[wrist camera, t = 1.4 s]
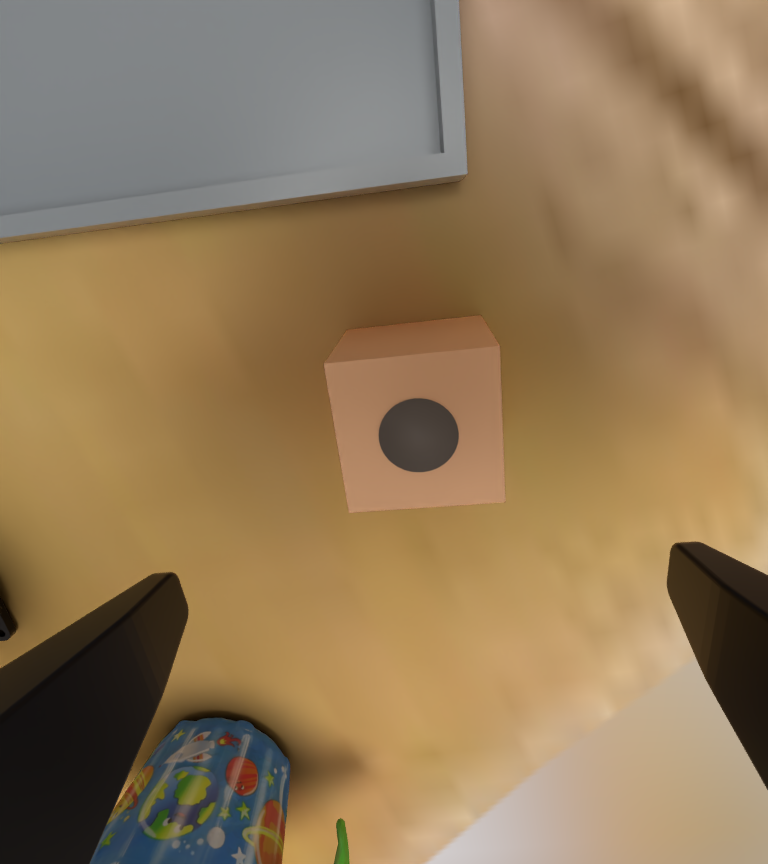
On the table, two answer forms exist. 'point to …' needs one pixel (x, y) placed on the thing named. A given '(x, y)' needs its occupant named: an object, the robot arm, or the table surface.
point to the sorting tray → (220, 107)
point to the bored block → (418, 414)
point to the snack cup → (206, 801)
